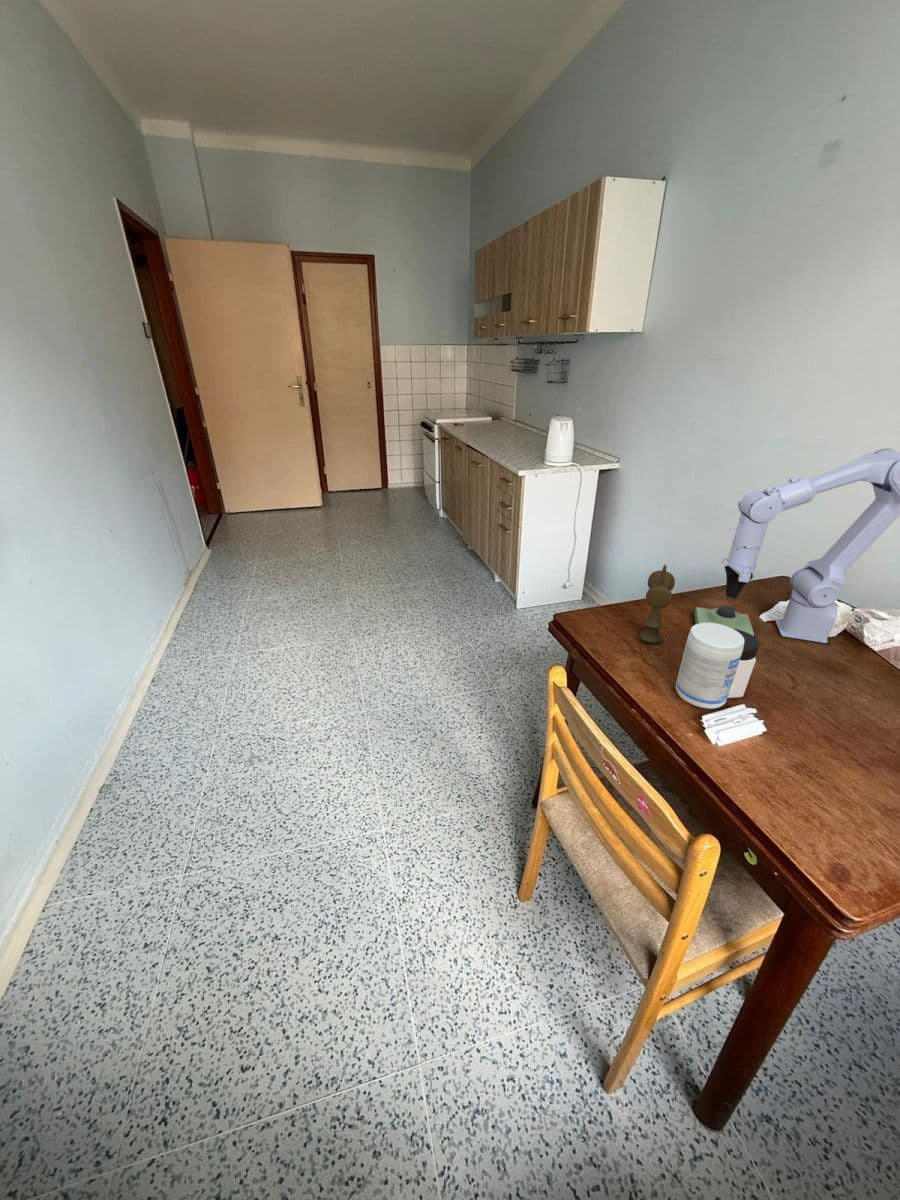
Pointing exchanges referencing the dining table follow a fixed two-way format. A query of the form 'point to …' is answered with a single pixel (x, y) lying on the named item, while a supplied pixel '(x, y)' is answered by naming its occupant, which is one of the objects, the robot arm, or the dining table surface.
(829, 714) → the dining table surface
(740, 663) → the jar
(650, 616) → the kendama
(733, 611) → the push button
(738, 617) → the green button box
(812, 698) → the dining table surface
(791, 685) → the dining table surface
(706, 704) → the supplement tub
